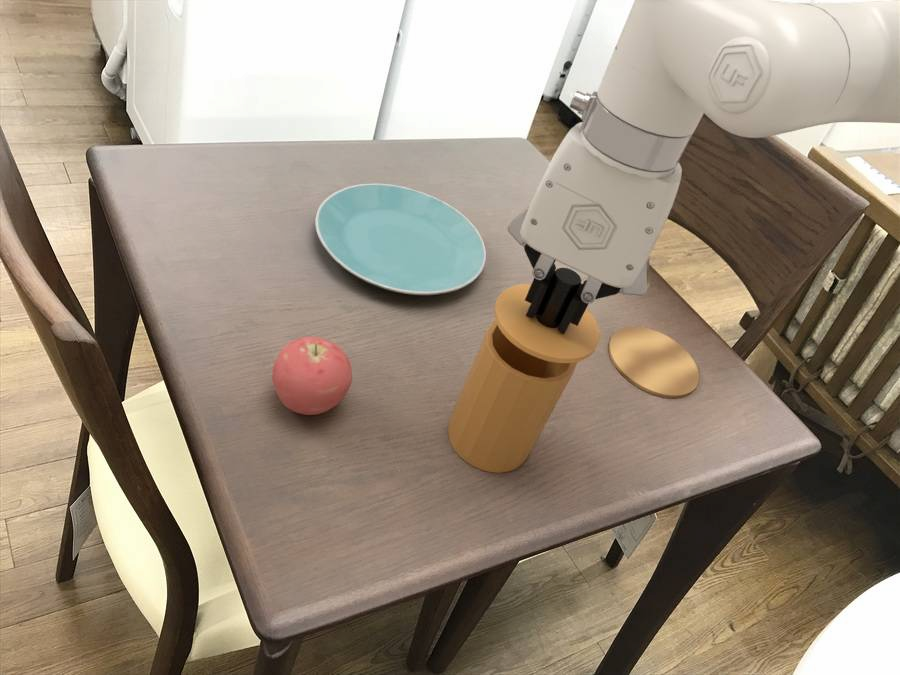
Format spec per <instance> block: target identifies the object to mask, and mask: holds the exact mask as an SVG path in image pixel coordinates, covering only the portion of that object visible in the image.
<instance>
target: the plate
mask: <svg viewBox="0 0 900 675" xmlns="http://www.w3.org/2000/svg"><path fill="white" fill-rule="evenodd" d="M314 226H315V231H316V234H317V237H318V240H319V241H320V243H321V245H322V247H323V248H324V250H325V251H326V252H327V253H328V255H330V257H331V258H332V259H333V260H334V261H335V262H336V263H337V264H339V266H341V267H342V268H343V269H344V270H346V271H347V272H349V273H350V274H352V275H353V276H355V277H356V278H358V279H360V280H362V281H364V282H366V283H368V284H370V285H373V286H375V287H378V288H381V289H384V290H387V291H391V292H395V293H400V294H405V295H413V296H434V295H435V296H436V295H443V294H448V293H452V292H455V291H459V290H461V289H463V288H465V287H467V286H469V285H470V284H472V283H473V282H474V281H475V280H476V279H477V278H478V277H480V275H481V274H482V271H483V270H484V268H485V265H486V262H487V250H486V246H485V243H484V240H483V238H482V236H481V234H480V232H479V231H478V229H477V228H476V226H475V225H474V224H473V223H472V221H470V220H469V218H467V216H466V215H464V214H463V213H462V212H460V211H459V210H458V209H456V208H455V207H454V206H452V205H450V204H448V203H447V202H445V201H443V200H441V199H440V198H437V197H435V196H433V195H430V194H428V193H425V192H422V191H421V190H415V189H413V188H410V187H405V186H401V185H396V184H389V183H373V182H372V183H361V184H354V185H350V186H347V187H344V188H341V189H339V190H337V191H335V192H332V193H331V194H330V195H328V196H327V197H326V198H325V199H324V200H323V201H322V202H321V204H320V205H319V206H318V208H317V211H316V212H315V217H314Z"/></svg>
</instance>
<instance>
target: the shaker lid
mask: <svg viewBox="0 0 900 675" xmlns="http://www.w3.org/2000/svg"><path fill="white" fill-rule="evenodd" d="M581 283H582V277H581V276H580V275H579V273H578V272H576V270H574V269H572V268H568V267H559V268H556V270H555V273H554V275H553V277H552V279H551V282H550V285H549V287H548V289H547V291H546V294H545V296H544V298H543V300H542V302H541V305H540V307H539V309H538V311H537V313H536V315H535V317H534V318H529V317H527V316H526V314H527V312H528V309H529V307H530V305H531V303H529V302H527V301H525V298H526V296H527V293H528V291H529V289H530V286H531V284H532V283H522V284H516V285H512V286H510V287H508V288H505V289H504V290H503V291H502V292H500V294H499V296H498V297H497V299H496V301H495V304H494V307H493V316H494V321H495V320H496V323H497V325H498V327H499V329H500V330H501V332H502V333H503V334H504V335H505V337H506V338H507V339H508V340H509V341H510V342H512V343H513V344H514V345H515V346H517V347H518V348H519V349H521V350H523V351H524V352H526V353H528V354H530V355H532V356H534V357H537V358H539V359H543V360H546V361H550V362H556V363H574V362H577V363H578V362H581V361H584V360H587V359H588V358H590V357H591V356H592V355H593V353H594V352H596V350H597V347H598V345H599V344H600V340H601V332H600V331H601V330H600V327H599V325H598V323H597V321H596V318H595V317H594V315H593V314H592V313H591V312H590V310H588V308H586V310H585V312H584V314H583V316H582V318H581V320H580V322H579V324H578V326H576V325H574V324H572V323H570V324H569V326H568V328H567V330H566V332H565V334H564V335H563V334H561V333H559V330H558V327H559V325H560V323H561V321H562V319H563V317H564V315H565V313H566V311H567V309H568V307H569V305H570V302H571V300H572V298H573V297H574V295H575V293H576V291H577V290H578V288H579V286H580V284H581Z"/></svg>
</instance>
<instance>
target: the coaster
mask: <svg viewBox="0 0 900 675" xmlns="http://www.w3.org/2000/svg"><path fill="white" fill-rule="evenodd" d="M607 350H608V355H609V358H610V360H611V362H612V364H613V366H614V367H615V368H616V370H617V371H618V373H620V374H621V375H622V377H624V378H625V379H626V380H627V381H628V382H629V383H631V384H632V385H633V386H635V387H637V388H638V389H640V390H642V391H644V392H646V393H648V394H651V395H654V396H656V397H661V398H667V399H678V398H683V397H686V396H689V395H690V394H692V393H693V392H694V391H695V390H696V388H697V386H698V384H699V381H700V372H699V368H698V366H697V363H696V361H695V360H694V358H693V357H692V356H691V355H690V353H689V352H688V351H687V349H685V348H684V346H682V345H681V344H680V343H678V342H677V341H676V340H674V339H673V338H671V337H669V336H668V335H666V334H664V333H662V332H660V331H658V330H655V329H652V328H648V327H643V326H627V327H626V326H625V327H621V328H619V329H617V331H615V332H614V333H613V334H612V335H611V337H610V339H609V341H608V346H607Z"/></svg>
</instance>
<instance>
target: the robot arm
mask: <svg viewBox="0 0 900 675" xmlns="http://www.w3.org/2000/svg"><path fill="white" fill-rule="evenodd" d="M605 69H606V70H605V71H604V73H603V76H602V79H601V81H600V83H599V86H598V89H597V90H596V91H593V92H592V93H589V92H586V93H584V92H583V91H582V92H581V91H580V90H576V91H575V93H574V95H573V97H572V99H571V101H570V104H569V108H570V109H572V110H574V111H577V114H579V115H581V118H580V120H582V121H581V122H578V123H576V124H575V125H574V126H572V127H571V128H570V129H569V130H568V132H567V133H566V135H565V136H564V138H563V139H562V141H561V142H560V144H559V146H558V148H557V149H556V151H555V152H554V154H553V157H552V158H551V160H550V162H549V164H548V166H547V168H546V170H545V172H544V174H543V176H542V178H541V180H540V182H539V184H538V187H537V189H536V191H535V193H534V195H533V197H532V200H531V202H530V205H529V206H528V207H527V208H525V209H523V211H522V212H521V213H519V214H518V215H517V216H516V217H514V218H513V219H512V221H511V222H510V223H509V225H508V226H507V232H508V233H509V235H510V236H512V238H513V239H514V240H515V241H516V242H517V243H518V244H519V246H522V247H523V250H524V252H525V254H526V256H527V259H528V261H529V262H530V265H531V267H532V273H531V274H532V277H533V280H532V282H531V283H530V284H531V286H530V289H529V291H528V293H527V296H526V298H525V301H527V302H529V303H531V305H530V307H529V309H528V312H527V314H526V316H527V317H529V318H534V317H535V315H536V313H537V311H538V309H539V307H540V305H541V302H542V300H543V298H544V296H545V294H546V291H547V289H548V287H549V285H550V282H551V279H552V277H553V275H554V273H555V271H556V270H557V266H556V262H559V263H560V264H563V265H565V266H567V267H569V268H570V269H572V270H574V271H577V272H579V273H580V274H581V273H582V274H584V275H585V276H587V279H586V280H583V282H581V284H580V286H579V288H578V290H577V291H576V293H575V295H574V297H573V298H572V300H571V302H570V305H569V307H568V309H567V311H566V313H565V315H564V317H563V319H562V321H561V323H560V325H559V327H558V330H559V333H561V334H563V335H564V334H565V332H566V330H567V328H568V326H569V324H570V323H572V324H574V325H576V326H578V324H579V322H580V320H581V318H582V316H583V314H584V312H585V310H586V309H588V306H589V304H592V303H594V302H595V300H600V299H602V298H607V297H611V296H616V295H618V294H622V295H628V296H629V295H630V296H644V295H646V294H647V291H648V289H649V287H650V256H651V253H652V251H653V250H654V248H655V246H656V243H657V241H658V239H659V237H660V235H661V233H662V232H663V231H662V230H663V228H664V227H665V224H666V222H667V220H668V217H669V215H670V213H671V210H672V208H673V206H674V203H675V200H676V197H677V194H678V191H679V187H680V185H681V181H682V180H681V179H682V174H683V169H682V166H681V164H680V161H681V160H680V159H682V156H683V154H684V152H685V150H686V148H687V146H688V145H689V142H690V140H691V139H692V136H693V135H694V133H695V131H696V129H697V127H698V125H699V124H700V121H701V120H702V118H703V117H704V116H703V115H706V117H707V118H708V119H709V120H711V121H712V122H713V123H714V124H716V125H717V126H718V127H720V128H721V129H723V130H725V131H726V132H728V133H730V134H732V135H735V136H739V137H743V138H748V139H760V138H769V137H773V136H778V135H781V134H787V133H792V132H795V131H799V130H803V129H807V128H808V129H809V128H813V127H817V126H823V125H828V124H835V123H878V124H879V123H880V124H881V123H882V124H900V0H874V1H873V0H872V1H871V0H870V1H851V2H827V1H826V2H825V1H823V2H821V1H820V2H788V1H780V0H634V1H633V3H632V6H631V8H630V10H629V13H628V15H627V19H626V20H625V22H624V25H623V28H622V30H621V33H620V35H619V37H618V40H617V43H616V45H615V47H614V49H613V52H612V54H611V57H610V59H609V61H608V64H607V66H606V68H605Z"/></svg>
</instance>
